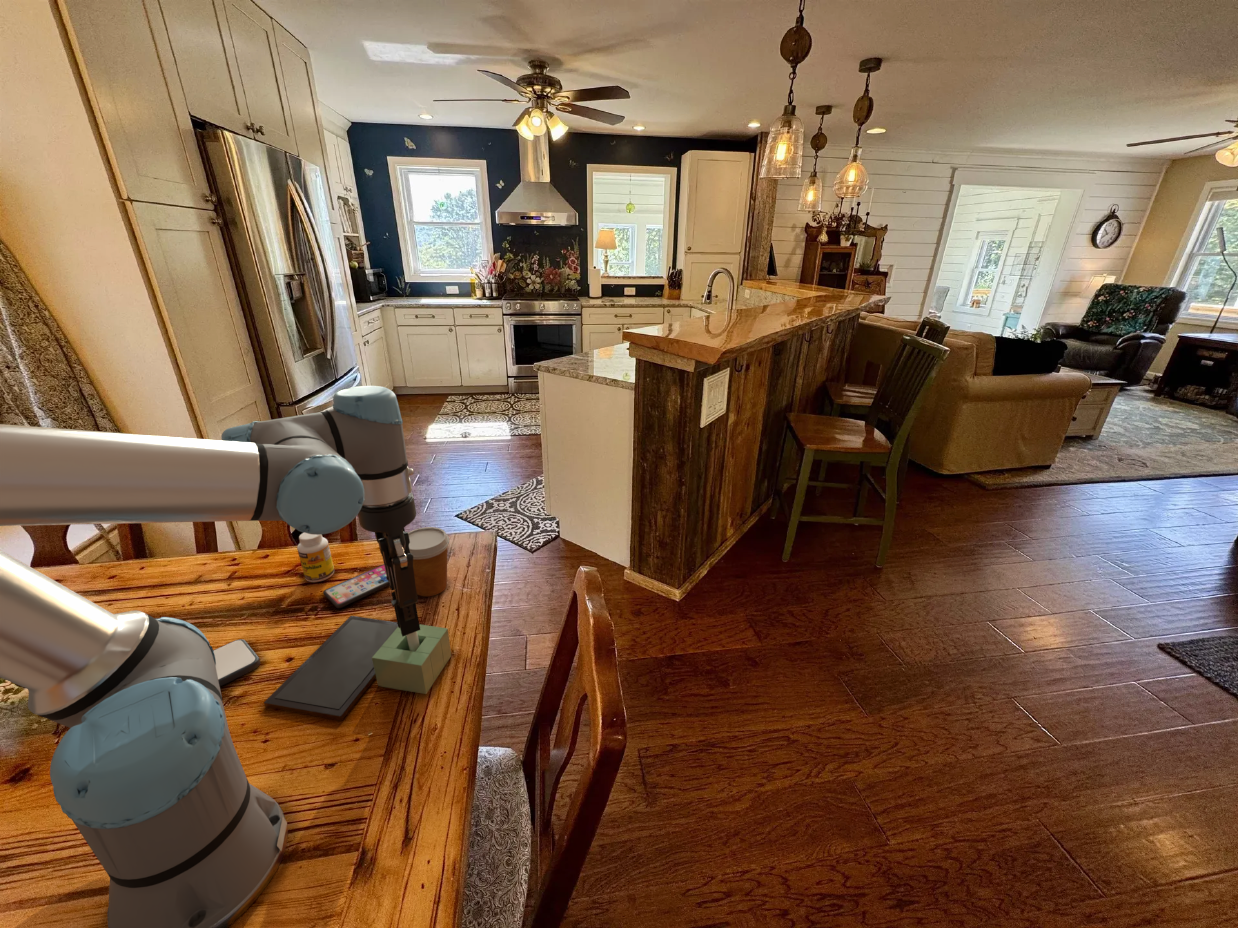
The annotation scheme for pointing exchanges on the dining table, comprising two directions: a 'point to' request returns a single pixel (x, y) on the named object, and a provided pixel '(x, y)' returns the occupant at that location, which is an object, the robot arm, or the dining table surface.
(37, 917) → the dining table surface
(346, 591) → the smartphone
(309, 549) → the supplement bottle
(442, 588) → the disposable coffee cup
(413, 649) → the stylus
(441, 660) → the pen stand
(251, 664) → the phone case
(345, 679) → the tablet
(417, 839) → the dining table surface
